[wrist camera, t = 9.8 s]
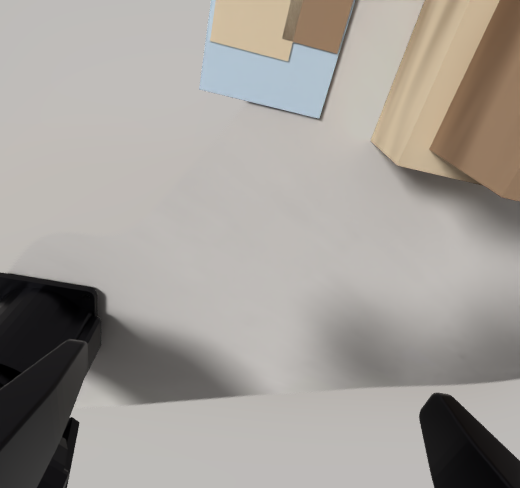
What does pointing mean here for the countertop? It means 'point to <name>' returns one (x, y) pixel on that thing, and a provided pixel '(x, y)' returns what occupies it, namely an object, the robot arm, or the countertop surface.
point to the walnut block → (488, 109)
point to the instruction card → (274, 51)
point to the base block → (431, 83)
